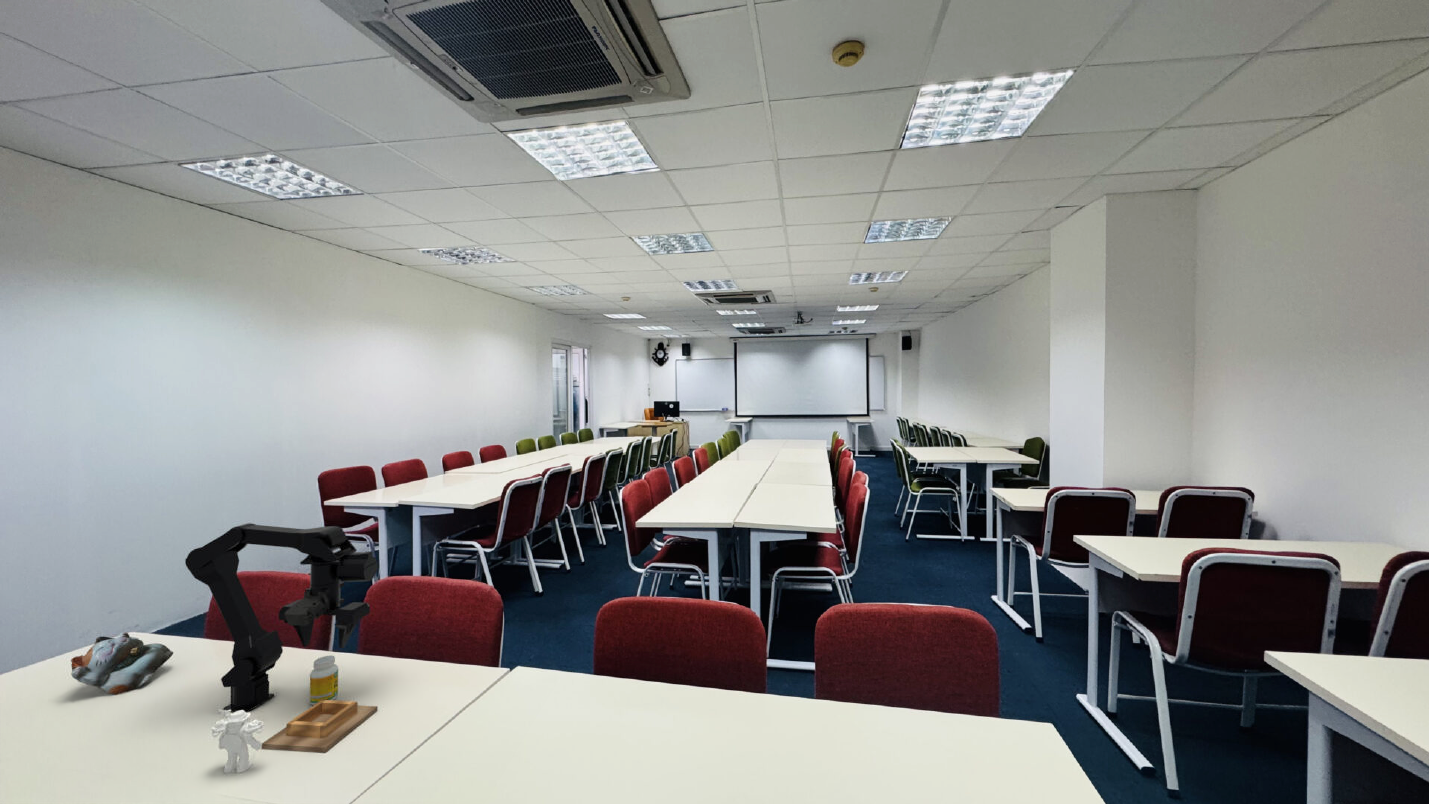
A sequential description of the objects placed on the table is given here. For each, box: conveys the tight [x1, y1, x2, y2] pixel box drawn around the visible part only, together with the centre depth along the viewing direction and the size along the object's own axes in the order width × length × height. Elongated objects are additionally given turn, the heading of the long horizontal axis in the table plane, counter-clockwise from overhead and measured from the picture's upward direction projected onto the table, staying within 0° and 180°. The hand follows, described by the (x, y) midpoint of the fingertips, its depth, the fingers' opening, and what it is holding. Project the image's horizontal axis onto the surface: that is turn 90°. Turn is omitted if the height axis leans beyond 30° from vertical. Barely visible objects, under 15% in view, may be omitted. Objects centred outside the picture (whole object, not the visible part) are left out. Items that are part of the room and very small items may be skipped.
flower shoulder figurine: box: [211, 708, 265, 774], centre depth 97 cm, size 9×4×12 cm, turn 89°
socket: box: [261, 699, 379, 754], centre depth 109 cm, size 14×14×4 cm
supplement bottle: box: [309, 654, 339, 706], centre depth 119 cm, size 5×5×10 cm
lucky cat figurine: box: [70, 632, 174, 695], centre depth 125 cm, size 15×12×14 cm
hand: (324, 647), depth 119 cm, fingers open, 9 cm apart
